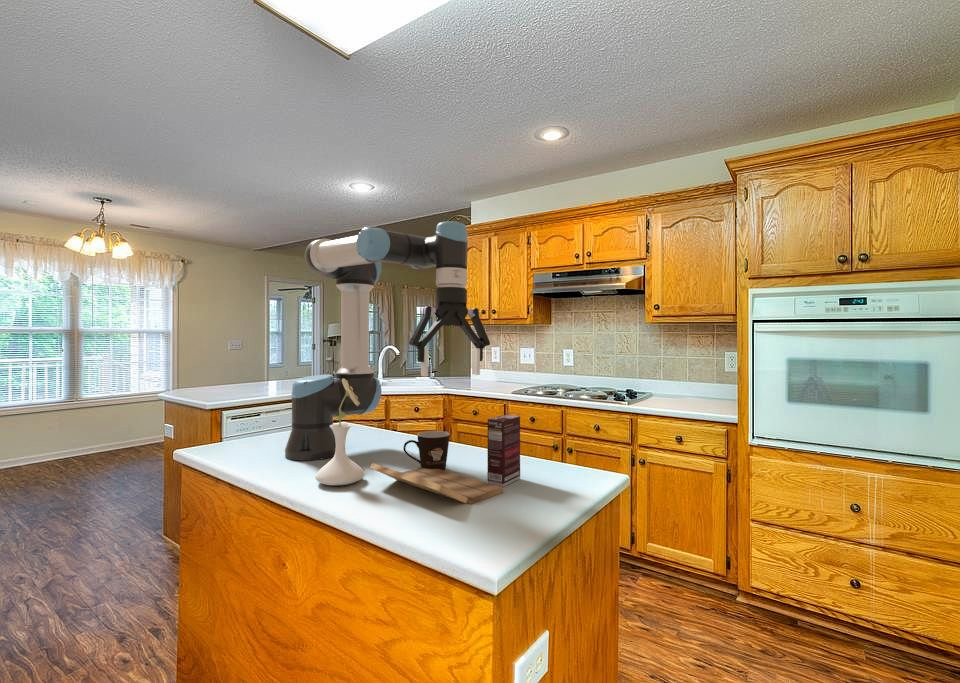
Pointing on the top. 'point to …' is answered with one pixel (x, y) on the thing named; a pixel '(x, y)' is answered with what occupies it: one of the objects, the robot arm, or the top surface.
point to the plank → (420, 483)
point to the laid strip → (458, 483)
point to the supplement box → (503, 450)
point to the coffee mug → (431, 449)
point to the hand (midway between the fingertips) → (450, 375)
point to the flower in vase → (341, 452)
